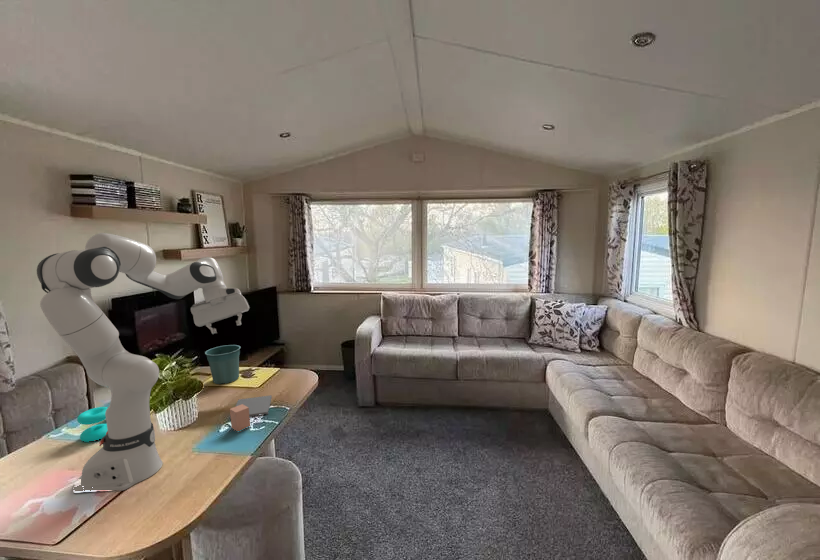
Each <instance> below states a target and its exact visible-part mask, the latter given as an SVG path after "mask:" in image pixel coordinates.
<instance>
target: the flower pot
mask: <svg viewBox="0 0 820 560" xmlns="http://www.w3.org/2000/svg"><path fill="white" fill-rule="evenodd" d="M241 348H242V347H241V346H240V345H237V344H228V345H220V346H216V347H213V348H210V349H208V350H206V351H204V355H205V356H206V358H207V361H208V366H209V369H210V373H211V377H212V381H213V384H216V385H221V384H224V383H225V384H228V383H229V382H230V383H233V382H235V381H237V380H238V379H239V378H240V365H239V364H240V354H241V350H240V349H241ZM238 377H239V378H238ZM232 381H233V382H232ZM230 383H229V384H230Z"/></svg>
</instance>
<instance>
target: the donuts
mask: <svg viewBox="0 0 820 560" xmlns="http://www.w3.org/2000/svg"><path fill="white" fill-rule="evenodd" d="M108 407H109V406H108ZM108 407H107V406H99V407H97V406H96V407H93V408H90V409H87V410H85V411H84V412H81V413H80V414H78V416H77V422H78V423H79V424H81V425H84V426H85V425H88V426H90V427H88V428H86V429H84V430H83V431H82V432H81V433H80V436H79V439H80V440H81V442H83V441H84V442H83V443H90V442H89V441H94V440H98V441H100V440H99V439H101V440H102V438H103V437H104V436H105V435H106V432H108V430H107V423H101V422H104V421H106V416H105V412H106V410H107V408H108ZM98 423H99V424H98ZM91 425H92V426H91ZM94 442H95V441H94Z"/></svg>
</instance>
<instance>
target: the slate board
mask: <svg viewBox="0 0 820 560" xmlns="http://www.w3.org/2000/svg"><path fill="white" fill-rule="evenodd" d="M272 398H273V397H272V395H262V396H257V397H255V396H254V397H247V398H240V399H238V400H237V402H236V404H235V407H236V406H239V405H241V404H243V405H245V406H247V407H248V408H249V416H252V417H254V416H253V415H259V414H266V415H269V412H268V411H270V406H271V402H272ZM259 416H260V415H259Z"/></svg>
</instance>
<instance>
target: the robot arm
mask: <svg viewBox="0 0 820 560" xmlns="http://www.w3.org/2000/svg"><path fill="white" fill-rule="evenodd" d="M156 265H157V255H156V252H155V250H154V249H153V248H152V247H151V246H150V245H148V244H147V243H144V242H141V241H139V240H136V239H133V238H130V237H126V236H122V235H119V234H118V235H117V234H113V233H107V232H99V233H96V234H94V235H92V236H91V237H90V238H88V240H87V242H86V244H85V247H84V249H79V250H78V249H77V250H76V249H75V250H74V249H73V250H67V251H63V252H60V253H59V252H58V253H53V254H50V255H48V256H46V257H44V258H42V260H41V261H39V263H38V265H37V267H36V275H37V279H38V281H39V283H40V285H41V289H42V290H43V291H44V292H45V295H44V296H43V297H42V298H41V299H40V302H39V308H40V309H41V311H42V312H43V315H44V317H45V318H46V320H47V321H48V322H49V324H50V325H51V327H52V328H53V329H54V331H56V333H57V334H58V335H59V336H60V337H61V339H62V340H63V341H64V342H65V343H66V345H67V346H69V347H70V348H71V349H72V351H73V352H74V353H75V354H76V356H77V357H78V358H79V360H80V363H82V365H83V367H84V369H85V370H86V371H85V372H86V375H87V376H88V378H89V379H91V381H93V382H94V383H96V384H97V385H99V386H102V387H105V388H109V390H110V393H111V396H110V402H109V406H108V408H107V410H106V412H105V416H106V419H105V421H106V423H105V424H107V430H108V432H106V435H105V436H104V437H103V438H102V439H101V440H99V442H98V443H99V447H100V449H98V451H96V452H95V453H93V455H92V456H90V458H89V459H88V460H87V461H86V462H85V463H84V465H83V468H82V469H81V475H80V476H79V478H78V479H81V485H79V486H77V487H74V489H73V488H72V491H73V490H75V491H83V490H84V491H85V490H90V491H91V490H119V491H118V492H120V491H121V492H122V491H125V490H127V489H129V488H130V487H132V486H134V485H136V484H137V483H140V482H142V481H144V480H146V479H148V478H150V477H152V476H154V475H155V474H156V473H157V472H158V471H159V470H161V468H162V466H163V461H162V459H161V456H160V455H159V452H158V450H157V449H158V448H157V447H156V446H157V445H156V442H155V441H156V433H155V429H154V423H153V422H152V419H151V410H150V397H151V391H152V389H153V387H154V386H155V384H156V383H157V382H158V379H159V377H160V368H159V366H158V364H157V363H156V362H154V361H153V360H151V359H150V358H148V357H146V356H143V355H141V354H140V355H139V354H134V353H131V352H129V351H128V350H126V349H125V348H124V346H123V345H122V343H121V340H120V338H119V336H120V332H119V330H118V329H117V328H116V326H115V325H114V324H113V323H112V321H111V320H110V319H109V318H108V317H107V316H106V313H105V312H104V311H102V308H100V306H99V305H98V304H96V302H95V300H94V299H93V296H92V293H91V292H92V290H91V289H92V288H100V287H101V288H102V287H104V286H107V285H109V284H111V283H113V282H114V281H115V280H116V279H117V278H118V275H119V273H122V274H124V275H125V276H126V278H128V279H129V280H131V281H132V282H135V283H137V284H139V285H142V286H145V287H147V288H150V289H153V290H156V291H158V292H160V293H162V294H164V295H165V296H167V297H168V298H171V299H173V300H174V299H175V300H181V299H182V298H184V297H186V296H188V295H189V294H191V293H192V292H195V291H197V290H199V289H201V290H202V291H201V293H202V296H203V298H204V300H203V301H200V302H199V301H198V302H197V303H194V304H192V305H191V307H190V312H191V314H192V317H193V323H194V324H195V326H196V327H199V328H200V327H203V326H205V327H207V328H208V329H209V330H210V332H211V334H212V335H214V334H218V332H217V328H215V327H212V324H213V323H215V322H219V321H222V320H224V319H228V318H231V317H233V316H234V317H235V316H237V320H235V323H236V326H241V325H242V316H243V313H245V312H248V311H249V310H250V305H249V302H248V300H247V299H246V298H245V296H243V294H242V291H241V290H240V289H239V288H237V287H227V285H226V283H225V281H224V275H223V272H222V270H221V267H220V265H219V264H218V262H217V260H216V259H215V258H213V257H210V256H209V257H208V256H207V257H201V258H199V259H197V260H195V261H193V262H191V263H189V264H186V265H185V266H182V267H181V268H179V269H177V270H176V271H173V272H170V273H167V274H162V273H160V272H157V271H155V270H154V269H155V268H156ZM101 446H102V447H101ZM82 486H84V487H82ZM92 487H93V488H92ZM83 488H84V489H83Z"/></svg>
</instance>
